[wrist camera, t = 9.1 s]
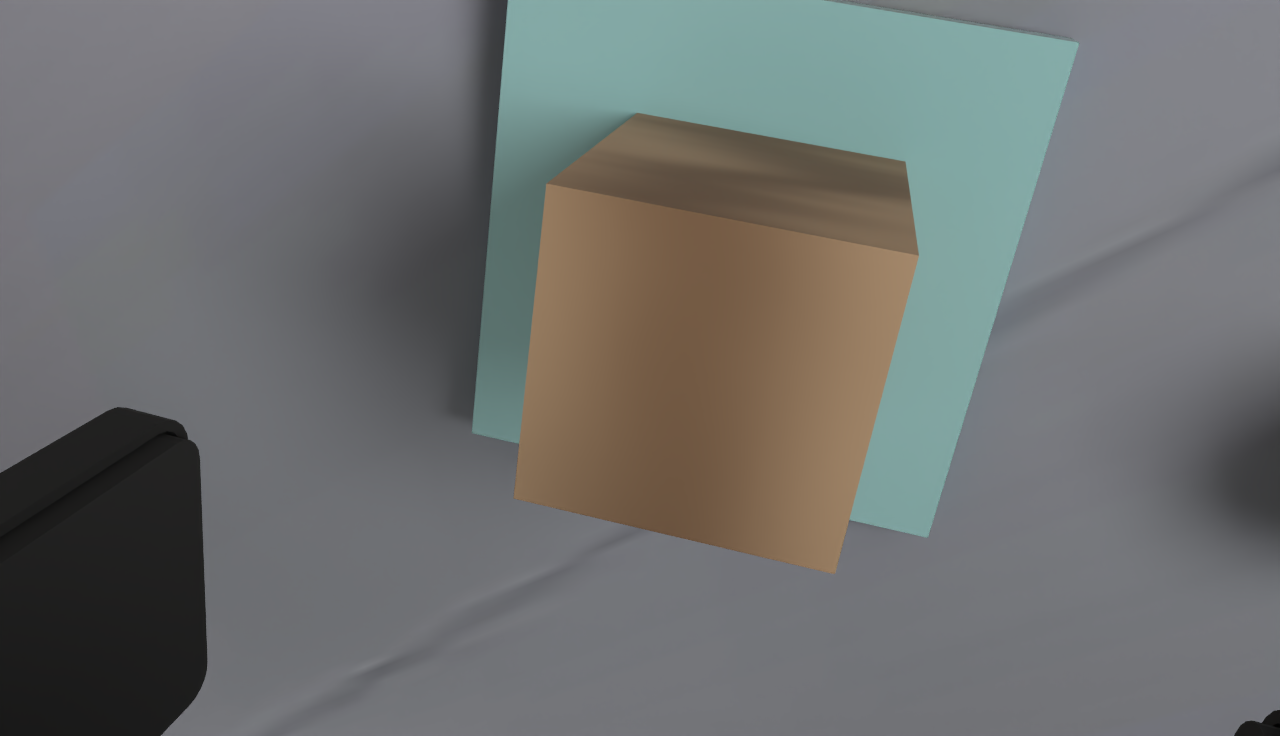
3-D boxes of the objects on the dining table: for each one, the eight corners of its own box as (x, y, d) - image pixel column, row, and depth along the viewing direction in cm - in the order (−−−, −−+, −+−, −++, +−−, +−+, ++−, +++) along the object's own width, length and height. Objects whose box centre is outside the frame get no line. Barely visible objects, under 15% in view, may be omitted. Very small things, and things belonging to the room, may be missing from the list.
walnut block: (905, 161, 19) (918, 255, 13) (844, 406, 21) (834, 574, 15) (637, 112, 19) (546, 183, 14) (604, 354, 21) (513, 498, 16)
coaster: (1071, 38, 18) (1079, 42, 17) (926, 518, 22) (928, 538, 22) (525, -52, 19) (512, -51, 19) (483, 417, 24) (471, 433, 23)
